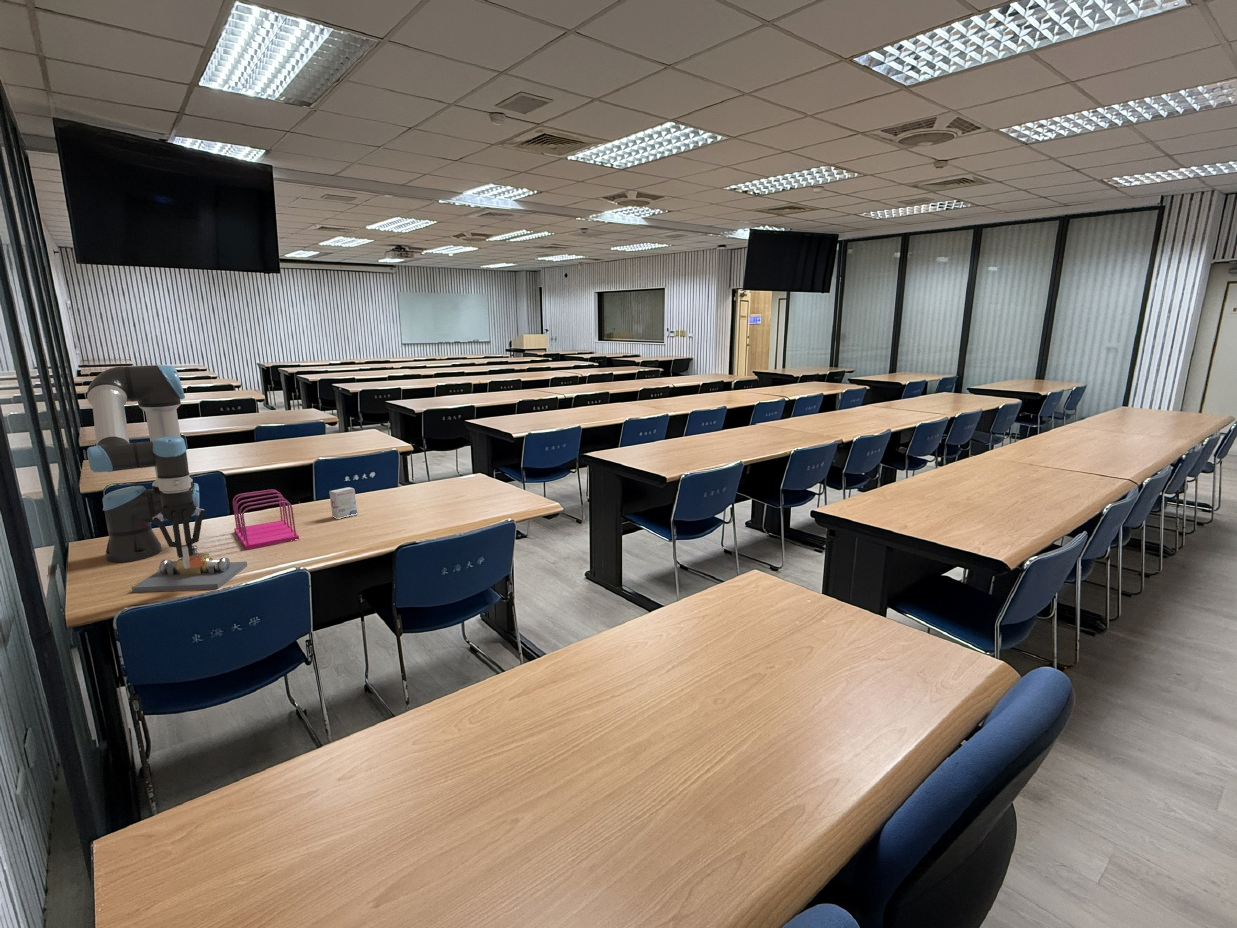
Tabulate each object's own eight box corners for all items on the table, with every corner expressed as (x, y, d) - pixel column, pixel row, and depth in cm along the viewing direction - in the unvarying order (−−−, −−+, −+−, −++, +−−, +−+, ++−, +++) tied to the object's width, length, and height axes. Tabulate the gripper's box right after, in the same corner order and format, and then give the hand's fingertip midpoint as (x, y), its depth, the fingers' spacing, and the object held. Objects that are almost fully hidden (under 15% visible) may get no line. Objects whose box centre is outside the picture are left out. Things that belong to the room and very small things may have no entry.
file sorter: (245, 550, 214) (239, 508, 210) (234, 532, 233) (228, 493, 229) (299, 540, 225) (294, 499, 221) (284, 523, 243) (279, 486, 240)
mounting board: (132, 592, 180) (131, 587, 179) (169, 568, 197) (169, 564, 197) (218, 588, 182) (217, 583, 182) (247, 565, 200) (246, 561, 199)
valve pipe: (159, 578, 187) (156, 561, 186) (171, 570, 193) (168, 554, 192) (222, 575, 189) (219, 558, 188) (231, 568, 195) (229, 552, 194)
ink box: (351, 513, 257) (349, 486, 255) (357, 515, 254) (355, 488, 252) (331, 517, 251) (329, 490, 248) (337, 520, 248) (334, 492, 245)
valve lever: (187, 555, 190) (185, 546, 190) (198, 553, 192) (197, 544, 191) (190, 569, 179) (189, 560, 178) (203, 567, 181) (201, 558, 180)
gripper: (150, 496, 168) (162, 575, 173) (204, 488, 177) (215, 564, 182) (146, 491, 173) (158, 568, 178) (199, 484, 182) (209, 558, 187)
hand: (187, 566), depth 180 cm, fingers closed
